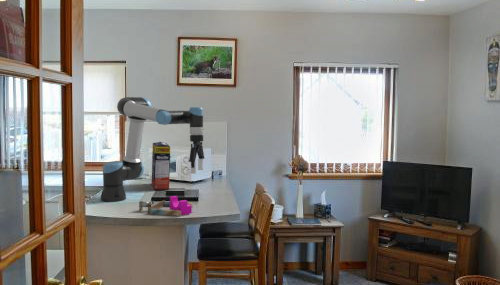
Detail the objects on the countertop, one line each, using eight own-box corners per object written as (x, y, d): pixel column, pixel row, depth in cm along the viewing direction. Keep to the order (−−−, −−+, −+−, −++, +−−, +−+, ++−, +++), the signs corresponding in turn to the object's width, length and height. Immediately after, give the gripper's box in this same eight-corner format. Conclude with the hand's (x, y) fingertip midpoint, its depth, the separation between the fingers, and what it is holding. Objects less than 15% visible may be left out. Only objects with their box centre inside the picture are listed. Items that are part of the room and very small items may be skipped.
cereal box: (169, 190, 291) (171, 144, 289) (153, 190, 288) (154, 144, 286) (166, 183, 317) (167, 141, 314) (150, 183, 313) (151, 141, 311)
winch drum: (138, 210, 232) (138, 202, 232) (142, 209, 237) (142, 200, 236) (150, 211, 231) (150, 202, 230) (153, 209, 235) (153, 200, 235)
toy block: (191, 213, 228) (191, 200, 227) (181, 215, 224) (180, 201, 224) (180, 208, 240) (180, 195, 239) (170, 209, 237) (169, 196, 236)
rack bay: (148, 213, 226) (147, 208, 226) (162, 205, 246) (162, 200, 246) (180, 215, 223) (180, 210, 222) (192, 207, 242) (192, 201, 242)
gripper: (196, 135, 222) (196, 175, 224) (209, 133, 247) (209, 168, 248) (182, 135, 224) (183, 174, 225) (196, 133, 248) (197, 168, 250)
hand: (197, 171), depth 237 cm, fingers open, 13 cm apart
